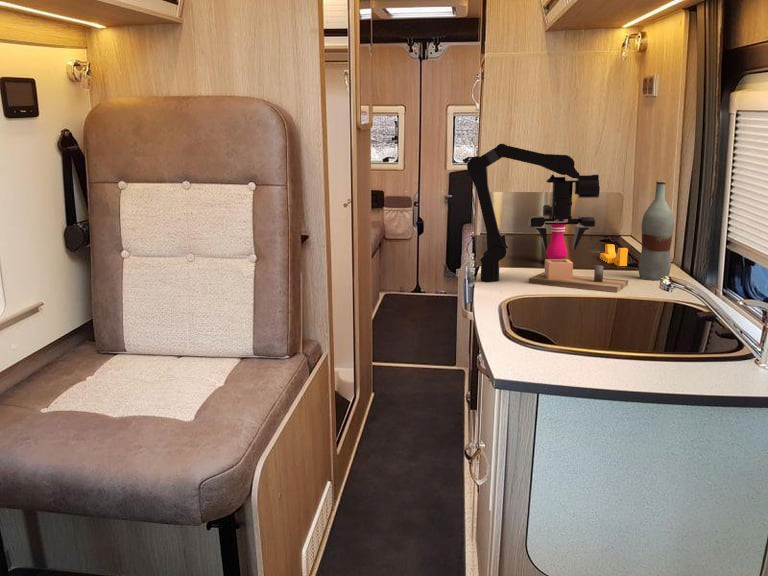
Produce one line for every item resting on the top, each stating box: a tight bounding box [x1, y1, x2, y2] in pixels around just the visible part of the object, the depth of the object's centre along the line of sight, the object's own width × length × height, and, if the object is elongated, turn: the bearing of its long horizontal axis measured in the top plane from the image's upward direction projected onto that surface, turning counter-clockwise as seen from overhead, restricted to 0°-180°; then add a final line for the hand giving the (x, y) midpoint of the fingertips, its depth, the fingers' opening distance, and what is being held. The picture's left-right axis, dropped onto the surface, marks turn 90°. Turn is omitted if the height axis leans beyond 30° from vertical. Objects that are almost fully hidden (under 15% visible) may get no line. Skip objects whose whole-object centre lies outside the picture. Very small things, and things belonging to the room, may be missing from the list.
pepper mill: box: [545, 219, 568, 259], centre depth 218 cm, size 7×7×20 cm
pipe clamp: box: [599, 243, 629, 267], centre depth 221 cm, size 12×4×6 cm, turn 5°
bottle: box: [637, 180, 675, 281], centre depth 192 cm, size 9×9×30 cm
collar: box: [544, 258, 574, 280], centre depth 189 cm, size 7×7×5 cm
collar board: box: [528, 264, 629, 293], centre depth 186 cm, size 12×26×6 cm, turn 56°
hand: (559, 250), depth 188 cm, fingers open, 8 cm apart
